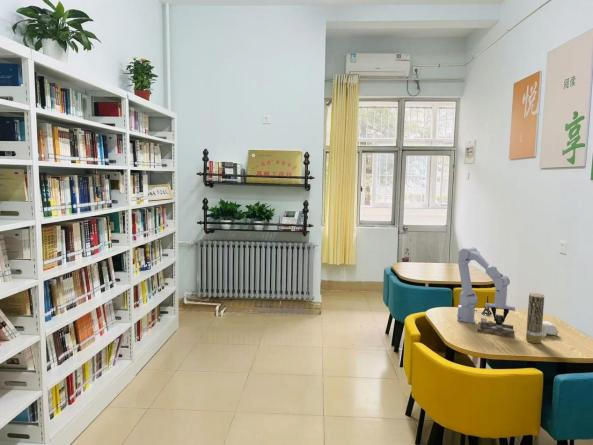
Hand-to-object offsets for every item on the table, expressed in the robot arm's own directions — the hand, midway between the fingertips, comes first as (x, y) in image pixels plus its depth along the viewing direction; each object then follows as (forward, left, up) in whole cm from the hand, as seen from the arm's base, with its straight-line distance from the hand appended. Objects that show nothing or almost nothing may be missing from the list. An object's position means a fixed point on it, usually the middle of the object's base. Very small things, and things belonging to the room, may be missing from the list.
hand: (499, 321), depth 223 cm
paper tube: (+16, -8, -6) cm, 19 cm away
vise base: (-2, 0, -6) cm, 6 cm away
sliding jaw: (0, 0, -4) cm, 4 cm away
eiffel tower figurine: (-7, +33, -6) cm, 34 cm away
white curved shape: (+22, +7, -6) cm, 24 cm away
